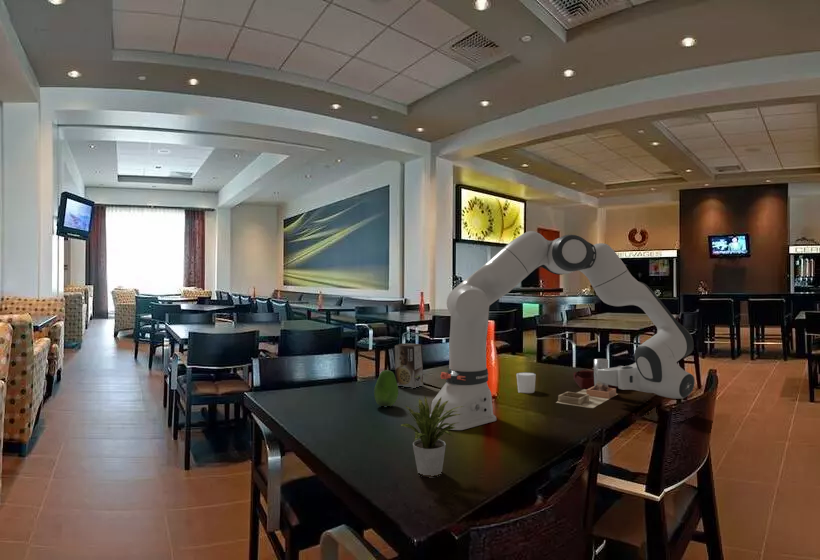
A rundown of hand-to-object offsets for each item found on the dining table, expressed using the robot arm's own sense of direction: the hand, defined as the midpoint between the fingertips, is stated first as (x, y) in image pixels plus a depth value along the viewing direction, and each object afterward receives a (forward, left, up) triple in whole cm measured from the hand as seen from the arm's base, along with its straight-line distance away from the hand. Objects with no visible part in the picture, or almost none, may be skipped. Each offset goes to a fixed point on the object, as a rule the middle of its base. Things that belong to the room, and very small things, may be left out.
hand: (607, 369), depth 170 cm
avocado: (-53, +53, -10) cm, 75 cm away
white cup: (-9, +26, -10) cm, 29 cm away
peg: (+1, +3, -9) cm, 9 cm away
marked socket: (+1, +3, -10) cm, 10 cm away
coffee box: (-25, +67, -10) cm, 72 cm away
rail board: (-6, +5, -10) cm, 12 cm away
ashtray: (+14, +10, -10) cm, 20 cm away
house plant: (-89, +7, -10) cm, 90 cm away
